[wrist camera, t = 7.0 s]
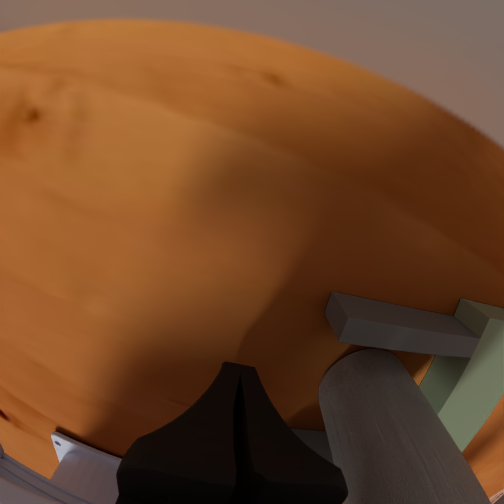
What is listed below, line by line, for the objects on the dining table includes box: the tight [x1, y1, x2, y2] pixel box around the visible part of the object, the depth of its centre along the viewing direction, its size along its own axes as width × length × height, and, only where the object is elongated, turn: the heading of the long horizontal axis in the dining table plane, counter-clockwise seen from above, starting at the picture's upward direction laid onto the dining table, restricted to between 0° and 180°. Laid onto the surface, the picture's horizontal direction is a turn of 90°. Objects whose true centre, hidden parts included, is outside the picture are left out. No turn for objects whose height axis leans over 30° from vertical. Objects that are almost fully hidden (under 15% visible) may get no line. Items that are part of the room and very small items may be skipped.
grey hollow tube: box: [318, 349, 491, 504], centre depth 9 cm, size 4×4×10 cm
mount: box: [290, 291, 504, 464], centre depth 13 cm, size 11×12×2 cm
